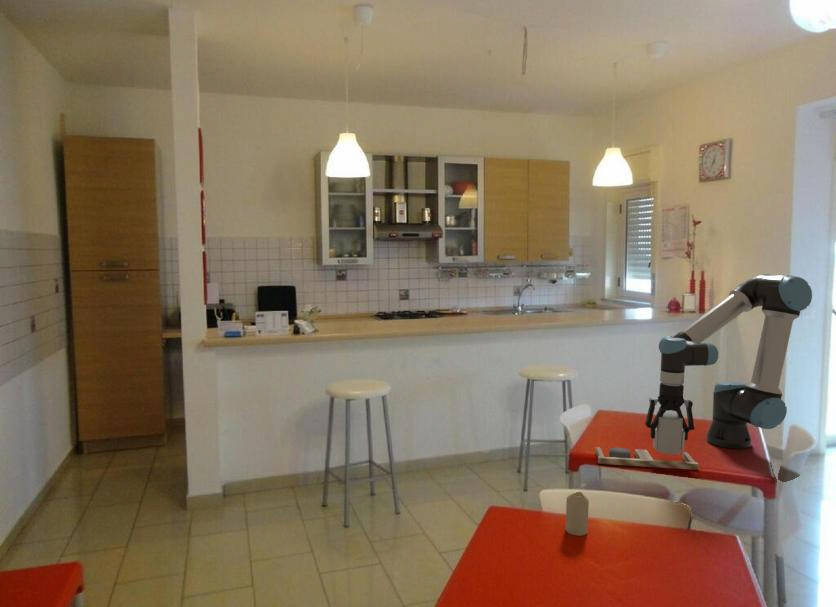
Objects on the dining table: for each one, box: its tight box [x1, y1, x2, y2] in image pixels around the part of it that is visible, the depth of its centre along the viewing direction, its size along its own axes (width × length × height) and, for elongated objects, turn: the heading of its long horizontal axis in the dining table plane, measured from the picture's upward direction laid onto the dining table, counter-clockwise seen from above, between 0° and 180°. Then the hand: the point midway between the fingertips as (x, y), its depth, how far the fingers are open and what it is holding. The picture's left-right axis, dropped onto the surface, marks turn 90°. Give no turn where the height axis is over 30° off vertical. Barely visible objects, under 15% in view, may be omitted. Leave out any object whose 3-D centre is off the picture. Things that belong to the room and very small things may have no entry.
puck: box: [608, 447, 632, 458], centre depth 209 cm, size 7×7×3 cm
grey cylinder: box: [655, 412, 683, 456], centre depth 206 cm, size 8×8×12 cm
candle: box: [565, 491, 590, 537], centre depth 155 cm, size 6×6×10 cm
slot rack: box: [595, 446, 699, 471], centre depth 207 cm, size 32×12×2 cm, turn 81°
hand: (668, 448), depth 206 cm, fingers closed on grey cylinder, 8 cm apart
